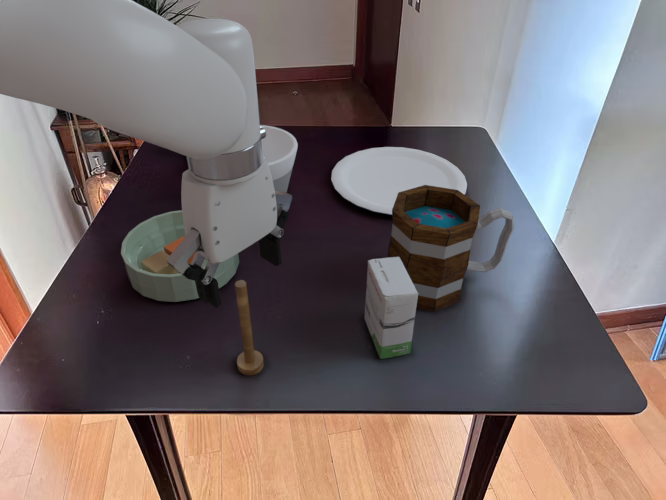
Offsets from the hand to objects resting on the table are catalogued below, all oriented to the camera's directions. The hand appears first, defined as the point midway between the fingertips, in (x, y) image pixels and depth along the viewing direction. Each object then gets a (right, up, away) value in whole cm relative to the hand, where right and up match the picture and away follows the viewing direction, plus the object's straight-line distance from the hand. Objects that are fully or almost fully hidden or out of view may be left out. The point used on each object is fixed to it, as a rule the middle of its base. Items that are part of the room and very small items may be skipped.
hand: (242, 280), depth 63 cm
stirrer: (0, -12, +9) cm, 16 cm away
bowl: (-6, +16, +46) cm, 49 cm away
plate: (+25, +18, +49) cm, 58 cm away
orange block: (-14, +1, +25) cm, 29 cm away
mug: (+29, -2, +24) cm, 38 cm away
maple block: (-17, -1, +22) cm, 28 cm away
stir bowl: (-14, +1, +26) cm, 29 cm away
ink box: (+19, -9, +14) cm, 25 cm away
